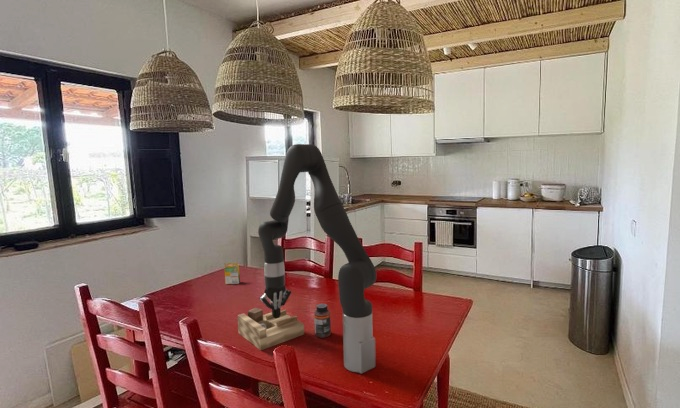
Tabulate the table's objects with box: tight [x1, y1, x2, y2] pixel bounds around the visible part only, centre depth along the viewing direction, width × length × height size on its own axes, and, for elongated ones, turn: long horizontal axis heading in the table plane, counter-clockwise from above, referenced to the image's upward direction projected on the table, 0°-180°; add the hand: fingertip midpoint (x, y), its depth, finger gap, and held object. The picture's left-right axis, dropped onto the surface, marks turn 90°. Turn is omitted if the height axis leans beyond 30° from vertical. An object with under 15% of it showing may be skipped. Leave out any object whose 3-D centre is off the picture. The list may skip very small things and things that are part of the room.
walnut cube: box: [247, 307, 264, 322], centre depth 140 cm, size 4×4×4 cm
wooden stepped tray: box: [237, 309, 305, 351], centre depth 138 cm, size 18×18×7 cm
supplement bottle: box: [313, 303, 332, 339], centre depth 135 cm, size 6×6×11 cm
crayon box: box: [224, 262, 241, 285], centre depth 198 cm, size 7×3×12 cm, turn 93°
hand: (276, 317), depth 139 cm, fingers closed
